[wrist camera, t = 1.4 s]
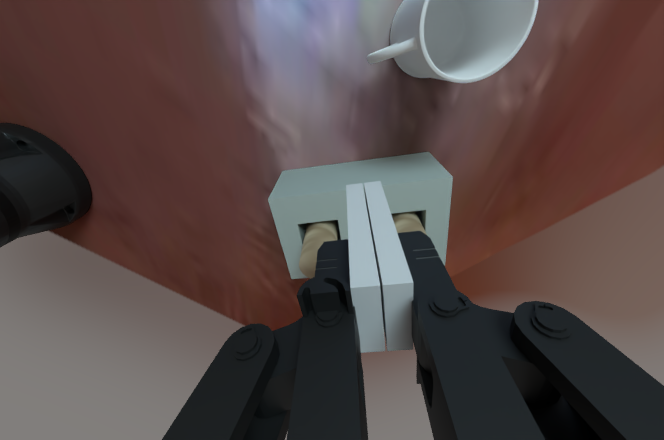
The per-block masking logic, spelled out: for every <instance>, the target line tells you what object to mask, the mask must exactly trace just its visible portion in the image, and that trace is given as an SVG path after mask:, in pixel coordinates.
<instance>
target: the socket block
mask: <svg viewBox="0 0 664 440" xmlns="http://www.w3.org/2000/svg"><path fill="white" fill-rule="evenodd" d="M452 180H453V177H452V176H451V175H450V174H449V172H448V171H447V170H446V169H445V168H444V167H443V166H442V165H441V164H440V163H439V162H438V161H437V160H436V159H435V158H434V157H433V156H432V155H431V154H430V153H429V152H423V153H415V154H407V155H400V156H392V157H385V158H377V159H369V160H362V161H354V162H347V163H339V164H331V165H324V166H316V167H309V168H301V169H293V170H286V171H282V173H281V175H280V177H279V179H278V181H277V183H276V185H275V187H274V189H273V191H272V193H271V195H270V197H269V198H268V201H269V205H270V208H271V211H272V215H273V218H274V221H275V225H276V228H277V232H278V235H279V238H280V242H281V245H282V248H283V252H284V255H285V259H286V262H287V265H288V269H289V272H290V276H291V279H298V278H308V277H306V276H305V275H304V274H303V273H302V272H301V270H300V268H299V261H300V256H301V251H302V246H303V241H304V236H305V231H306V226H307V223H312V222H321V221H330V220H336V221H337V224H338V234H337V240H344V239H348V219H347V195H346V185H351V184H359V183H362V184H363V189H364V183H367V182H375V181H381V184H382V187H383V190H384V194H385V197H386V200H387V203H388V206H389V209H390V212H391V214H393V213H402V212H411V211H415V212H416V214H417V216H418V218H419V220H420V222H421V224H422V226H423V228H424V230H425V232H426V234H427V236H428V237H430V238H431V240H432V242H433V244H434V246H435V249H436V250H437V252H438V254H439V257H440V258H441V260H442V262H443V264H444V265H445V260H446V248H447V237H448V226H449V214H450V203H451V192H452ZM364 195H365V190H364ZM365 201H366V200H365Z"/></svg>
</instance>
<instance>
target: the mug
mask: <svg viewBox="0 0 664 440" xmlns="http://www.w3.org/2000/svg"><path fill="white" fill-rule="evenodd" d="M537 7H538V0H404V1H403V2H402V3H401V5H400V6H399V8H398V10H397V12H396V14H395V16H394V19H393V22H392V26H391V32H390V46H388V47H386V48H383V49H381V50H378V51H376V52H374V53H371V54H369V55H368V56H367V61H368V63H369V64H375V63H378V62H381V61H384V60H387V59H390V58H393V57H394V60H395V61H396V63H397V65H398V66H399V67H400V68H401V69H402V70H403V71H404V72H405V73H407V74H408V75H410V76H413V77H417V78H435V79H440V80H445V81H450V82H455V83H470V82H475V81H479V80H482V79H484V78H486V77H489V76H490V75H492V74H494V73H496V72H497V71H498V70H500V69H501V68H502V67H504V66H505V65H506V64H507V63H508V62H509V61H510V60H511V59H512V58H513V57H514V56H515V55H516V53H517V52H518V51H519V49H520V48H521V47H522V45H523V43H524V42H525V40H526V38H527V36H528V34H529V32H530V30H531V28H532V25H533V23H534V19H535V16H536V12H537Z"/></svg>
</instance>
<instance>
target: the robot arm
mask: <svg viewBox="0 0 664 440" xmlns="http://www.w3.org/2000/svg"><path fill="white" fill-rule="evenodd" d="M364 190H365V195H364ZM346 195H347V219H348V239H344V240H335V241H325V242H323V244H322V245H321V246H320V248H319V249H318V252H317V262H316V270H315V276H314V277H313V278H311V279H310V280H308V281H306V282H305V283H304V284H303V285H302V286H301V287H300V289H299V291H298V294H297V298H298V301H299V304H300V308H301V311H302V314H303V317H302V318H300V319H299V320H298V321H296V322H294V323H292V324H290V325H288V326H285V327H282V328H280V329H277V330H274V331H271V329H270V328H269V327H268V326H265V325H263V324H250V325H247V326H245V327H242V328H240V329H239V330H237V331H236V332H234V333H233V334H232V335H231V336H230V337H229V338H228V340H227V341H226V342H225V343H224V345H223V346H222V348H221V349H220V351H219V353H218V354H217V356H216V357H215V359H214V360H213V362H212V363H211V365H210V366H209V368H208V369H207V371H206V372H205V374H204V376H203V377H202V379H201V380H200V382H199V383H198V385H197V387H196V388H195V389H194V391H193V393H192V394H191V396H190V397H189V399H188V400H187V402H186V403H185V405H184V406H183V408H182V409H181V411H180V413H179V414H178V416H177V417H176V419H175V420H174V422H173V423H172V425H171V426H170V428H169V430H168V431H167V433H166V434H165V436H164V437H163V439H162V440H285V437H286V434H287V431H288V434H287V440H368V431H367V418H366V407H365V393H364V380H363V369H362V363H361V353H363V352H378V351H385V341H384V332H385V338H386V344H387V350H388V351H394V350H410V349H413V343H414V346H415V350H416V354H417V384H421V387H422V391H423V395H424V399H425V404H426V407H427V412H428V416H429V420H430V425H431V428H432V433H433V437H434V440H664V386H663V385H662V384H661V383H659V382H658V381H657V380H656V379H654V378H653V377H652V376H651V375H649V374H648V373H647V372H645V371H644V370H643V369H642V368H641V367H639V366H638V365H637V364H635V363H634V362H633V361H632V360H630V359H629V358H628V357H627V356H625V355H624V354H623V353H622V352H620V351H619V350H618V349H617V348H615V347H614V346H613V345H612V344H610V343H609V342H607V340H605V339H604V338H603V337H602V336H600V335H599V334H598V333H596V332H595V331H594V330H593V329H591V328H590V327H589V326H588V325H586V324H585V323H584V322H583V321H581V320H580V319H579V318H577V317H576V316H575V315H573V314H572V313H570V312H568V311H567V310H565V309H563V308H561V307H558V306H556V305H553V304H550V303H545V302H539V301H532V302H524V303H523V304H521V305H519V306H517V308H516V310H515V312H514V313H509V312H504V311H498V310H492V309H488V308H483V307H480V306H478V305H475V304H473V303H472V302H471V301H470V300H469V299H468V297H467V296H465V295H464V294H462V293H461V292H459V291H457V290H456V288H455V286H454V284H453V283H452V280H451V278H450V276H449V274H448V272H447V270H446V268H445V266H444V264H443V262H442V260H441V258H440V257H439V254H438V252H437V250H436V249H435V246H434V244H433V242H432V240H431V238H430V237H428V236H427V235H426V234H424V233H423V232H422V231H411V232H402V233H397V230H396V227H395V224H394V221H393V218H392V215H391V212H390V209H389V206H388V203H387V200H386V197H385V194H384V190H383V187H382V184H381V181H375V182H367V183H364V189H363V184H362V183H359V184H351V185H346ZM365 200H366V201H365ZM90 205H91V190H90V186H89V183H88V181H87V178H86V176H85V175H84V173H83V171H82V170H81V168H80V167H79V165H78V164H77V163H76V162H75V160H74V159H73V158H72V157H71V156H70V155H69V154H68V153H67V152H66V151H65V150H64V149H62V148H61V147H60V146H59V145H57V144H56V143H55V142H53V141H52V140H50V139H49V138H47V137H46V136H44V135H42V134H40V133H38V132H36V131H34V130H32V129H29V128H27V127H24V126H20V125H17V124H11V123H0V247H2V246H3V245H5V244H7V243H9V242H11V241H13V240H15V239H16V238H19V237H23V236H27V235H31V234H35V233H40V232H44V231H48V230H52V229H56V228H60V227H63V226H66V225H68V224H70V223H72V222H74V221H75V220H77V219H79V218H80V217H82V216H83V215H84V214H85V213H86V212H87V211H88V209H89V207H90ZM383 326H384V328H383Z"/></svg>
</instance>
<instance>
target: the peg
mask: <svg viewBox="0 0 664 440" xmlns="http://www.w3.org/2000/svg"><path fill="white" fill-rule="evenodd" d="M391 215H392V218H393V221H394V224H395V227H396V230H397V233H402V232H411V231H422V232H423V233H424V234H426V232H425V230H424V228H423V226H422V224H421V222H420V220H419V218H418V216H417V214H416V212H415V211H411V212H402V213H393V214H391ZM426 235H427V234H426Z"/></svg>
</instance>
